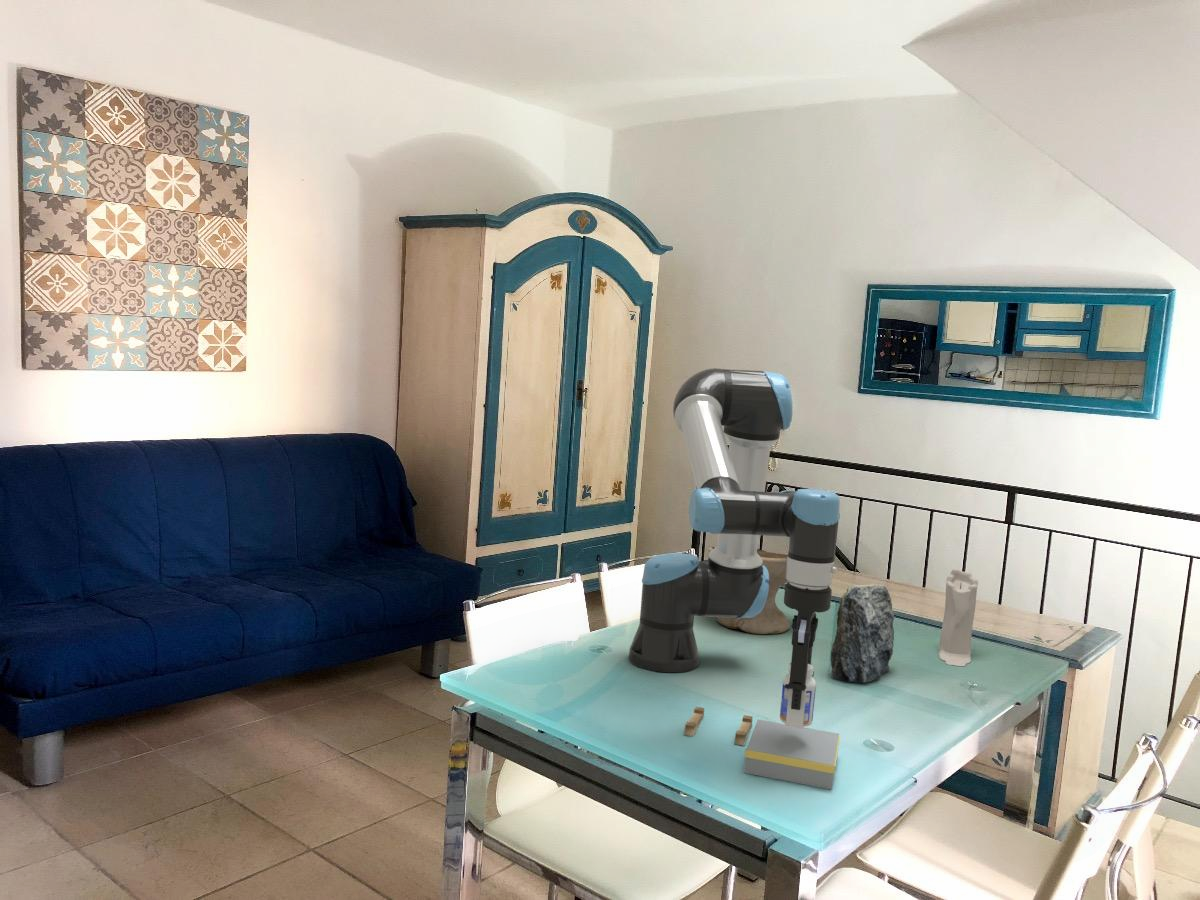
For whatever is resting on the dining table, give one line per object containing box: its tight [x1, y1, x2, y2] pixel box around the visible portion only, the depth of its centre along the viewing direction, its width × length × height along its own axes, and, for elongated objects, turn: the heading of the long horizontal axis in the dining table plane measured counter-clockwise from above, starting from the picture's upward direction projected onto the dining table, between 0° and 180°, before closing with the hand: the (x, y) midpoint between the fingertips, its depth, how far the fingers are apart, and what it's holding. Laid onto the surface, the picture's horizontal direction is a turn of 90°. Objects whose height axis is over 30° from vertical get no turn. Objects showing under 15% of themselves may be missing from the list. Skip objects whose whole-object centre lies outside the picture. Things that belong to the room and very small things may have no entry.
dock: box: [743, 718, 841, 790], centre depth 164 cm, size 14×14×4 cm
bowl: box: [708, 546, 791, 635], centre depth 246 cm, size 26×25×20 cm
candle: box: [938, 568, 979, 667], centre depth 230 cm, size 7×14×20 cm, turn 161°
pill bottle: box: [779, 662, 817, 728], centre depth 163 cm, size 5×5×10 cm
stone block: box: [830, 583, 895, 684], centre depth 213 cm, size 18×9×20 cm, turn 134°
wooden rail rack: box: [683, 706, 753, 746], centre depth 177 cm, size 11×10×2 cm
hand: (796, 719), depth 163 cm, fingers closed on pill bottle, 5 cm apart
